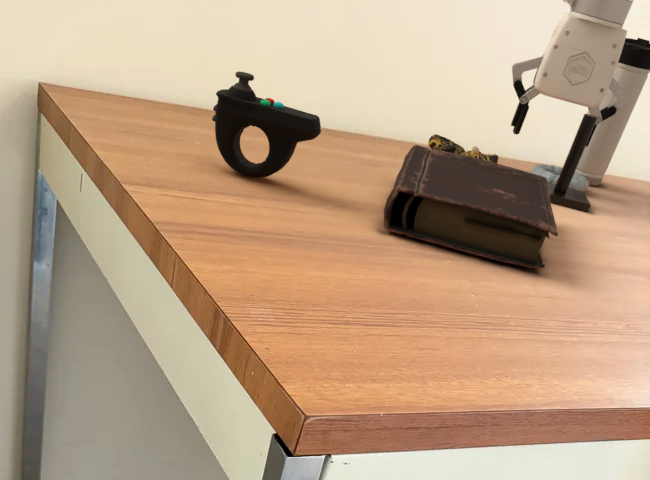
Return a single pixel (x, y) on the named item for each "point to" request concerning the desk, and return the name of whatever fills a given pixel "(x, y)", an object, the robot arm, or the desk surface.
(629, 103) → the travel mug
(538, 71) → the robot arm
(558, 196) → the stand
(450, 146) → the toy snake
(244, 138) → the desk surface
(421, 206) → the diary
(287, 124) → the controller
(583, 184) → the ring
